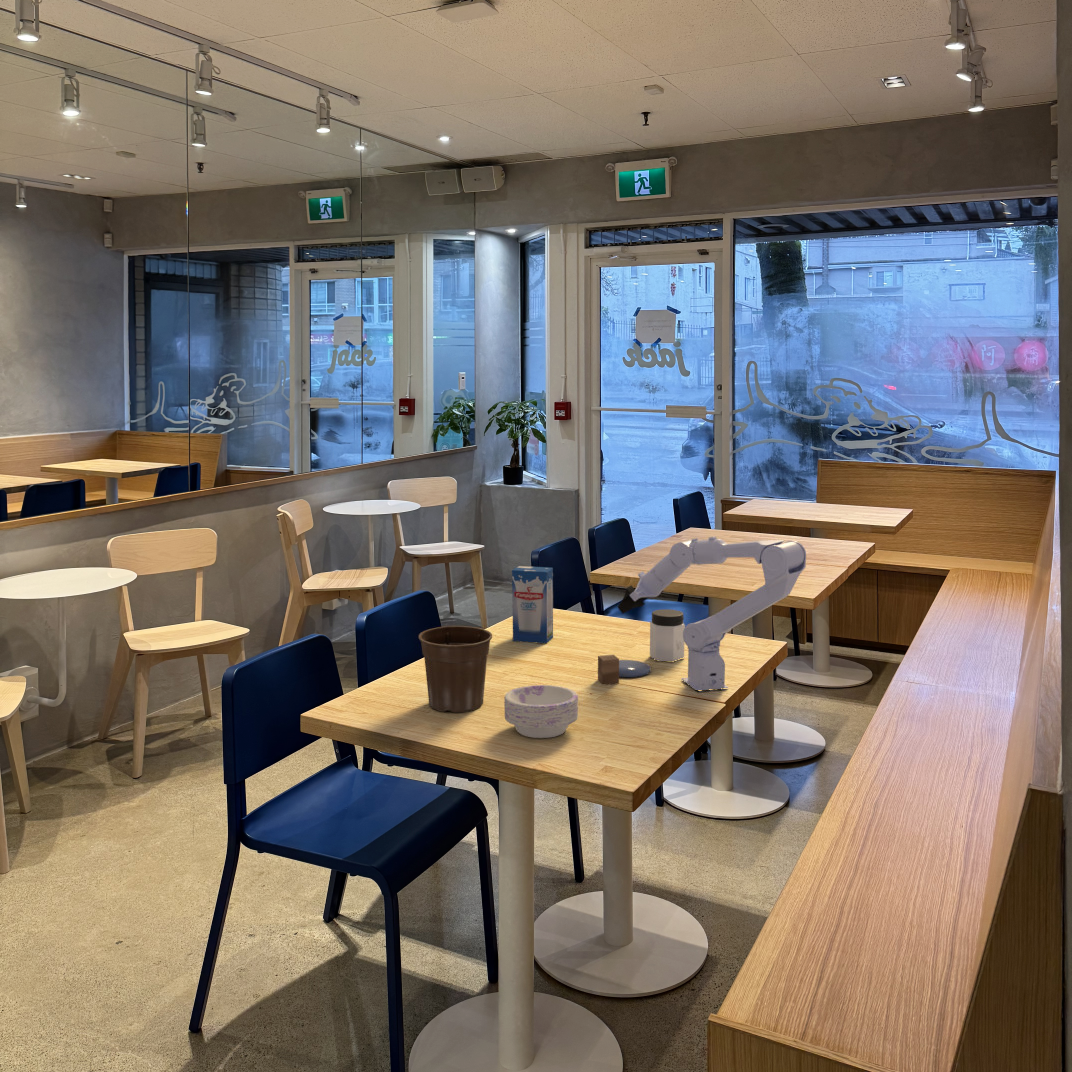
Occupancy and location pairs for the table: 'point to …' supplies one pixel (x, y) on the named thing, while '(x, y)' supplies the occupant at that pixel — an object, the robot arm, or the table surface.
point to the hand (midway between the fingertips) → (628, 605)
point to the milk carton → (532, 604)
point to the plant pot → (455, 666)
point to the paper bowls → (541, 710)
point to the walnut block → (608, 669)
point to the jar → (667, 635)
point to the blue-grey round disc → (633, 668)
